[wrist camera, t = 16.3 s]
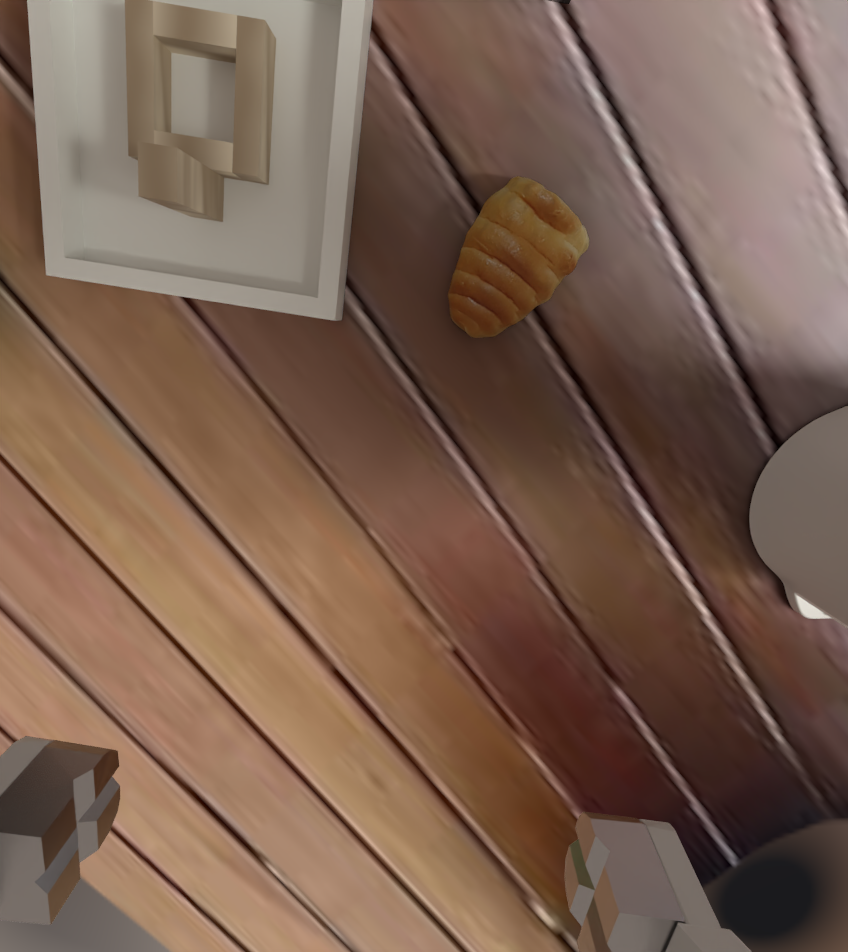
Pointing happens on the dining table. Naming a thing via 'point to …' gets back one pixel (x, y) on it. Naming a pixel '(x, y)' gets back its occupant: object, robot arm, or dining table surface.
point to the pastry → (513, 257)
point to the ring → (149, 104)
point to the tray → (212, 117)
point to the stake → (563, 0)
